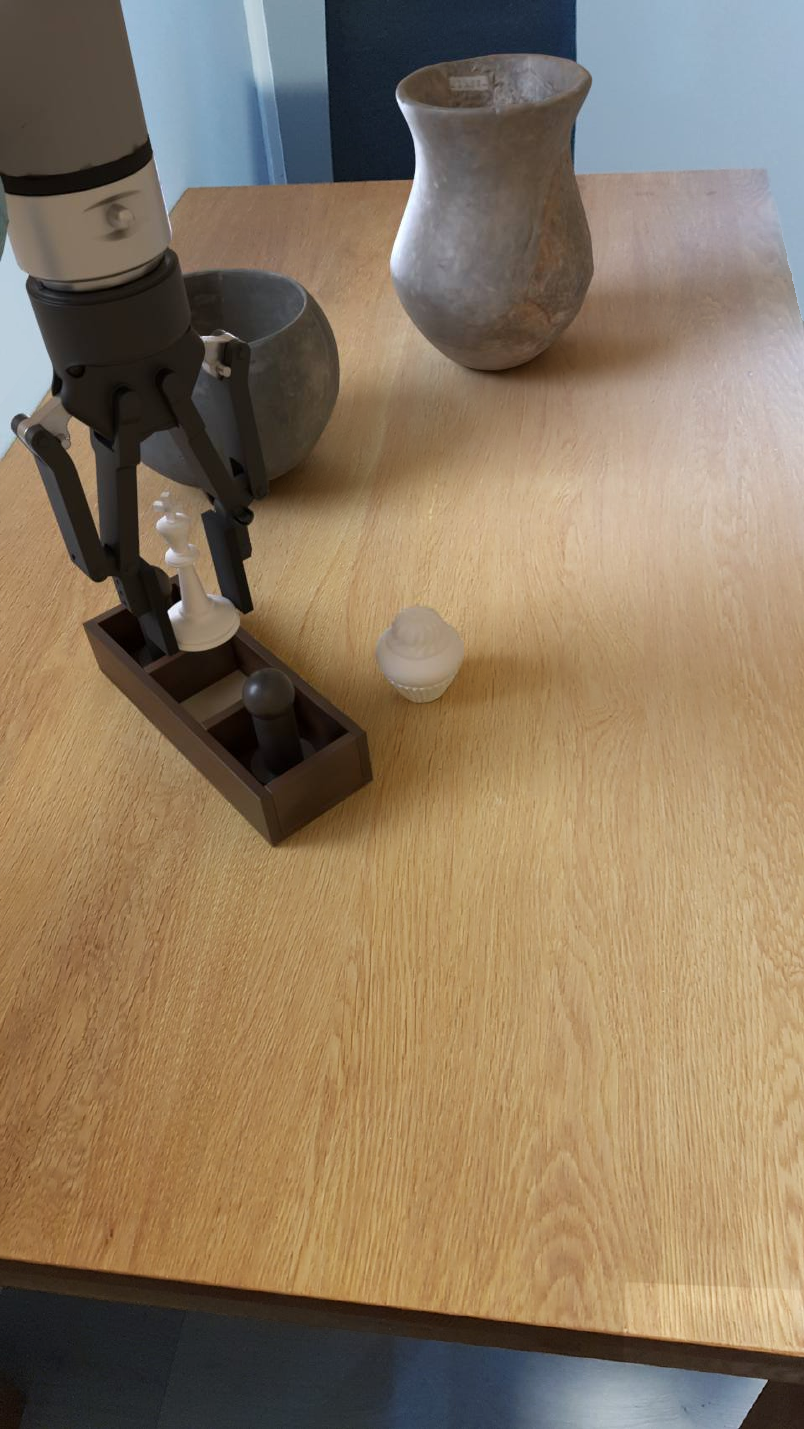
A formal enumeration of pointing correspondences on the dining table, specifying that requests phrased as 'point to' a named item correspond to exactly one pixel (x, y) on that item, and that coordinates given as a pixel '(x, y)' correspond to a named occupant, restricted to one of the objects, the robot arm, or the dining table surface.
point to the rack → (234, 721)
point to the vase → (493, 207)
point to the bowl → (261, 366)
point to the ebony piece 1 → (150, 650)
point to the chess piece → (192, 587)
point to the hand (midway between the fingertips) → (201, 622)
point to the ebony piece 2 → (274, 725)
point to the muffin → (420, 653)
